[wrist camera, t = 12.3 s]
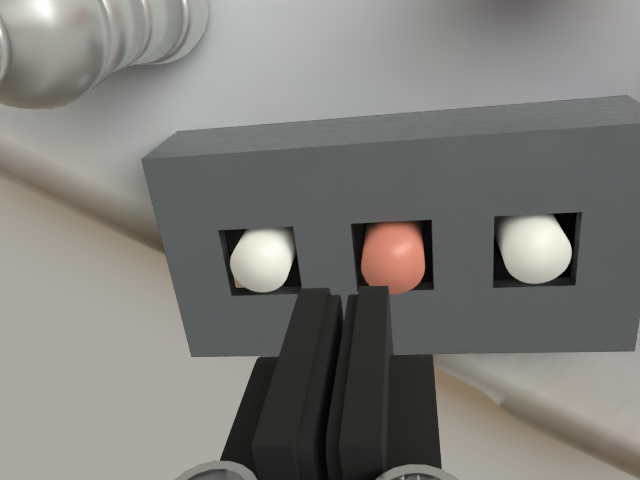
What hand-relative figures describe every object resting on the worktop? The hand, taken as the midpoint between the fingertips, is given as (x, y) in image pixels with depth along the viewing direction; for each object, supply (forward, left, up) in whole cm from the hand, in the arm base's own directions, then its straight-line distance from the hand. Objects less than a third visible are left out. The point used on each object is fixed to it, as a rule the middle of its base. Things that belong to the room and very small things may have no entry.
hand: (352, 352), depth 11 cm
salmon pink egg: (0, +9, -26) cm, 27 cm away
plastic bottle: (+13, -6, -27) cm, 31 cm away
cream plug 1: (+8, +9, -27) cm, 29 cm away
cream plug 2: (-8, +9, -27) cm, 29 cm away
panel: (0, +9, -27) cm, 29 cm away
